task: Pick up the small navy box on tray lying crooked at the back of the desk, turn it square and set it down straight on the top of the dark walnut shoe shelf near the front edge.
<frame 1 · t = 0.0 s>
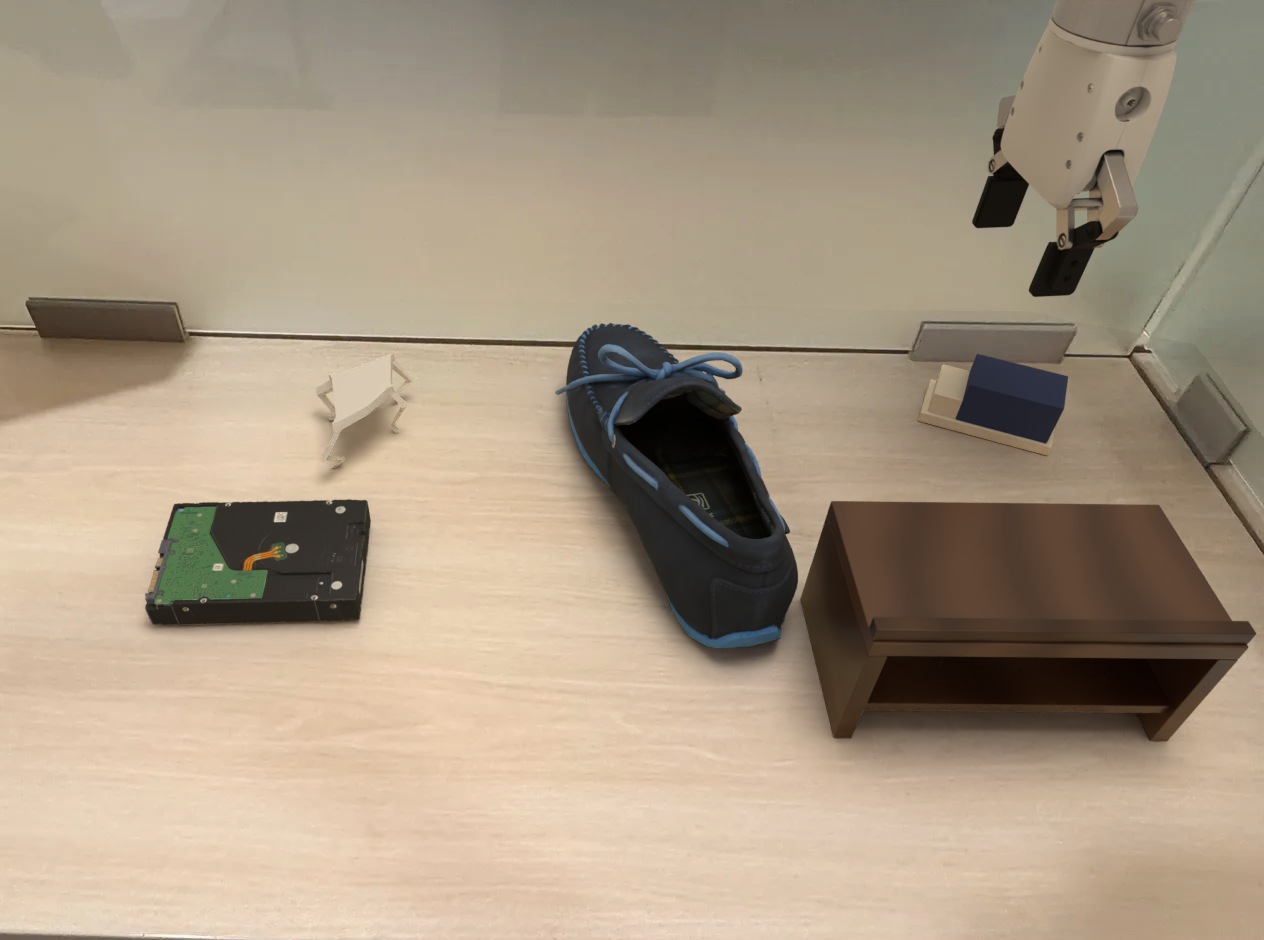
hand: (1019, 258, 73), 17 cm above the worktop, tool pointing down, fingers open, 9 cm apart
shoe shelf: (973, 665, 68), on the worktop
cream bent-legged table: (359, 437, 84), on the worktop
disk drive: (268, 574, 73), on the worktop
navy box on tray: (985, 420, 87), on the worktop
moccasin: (662, 498, 80), on the worktop
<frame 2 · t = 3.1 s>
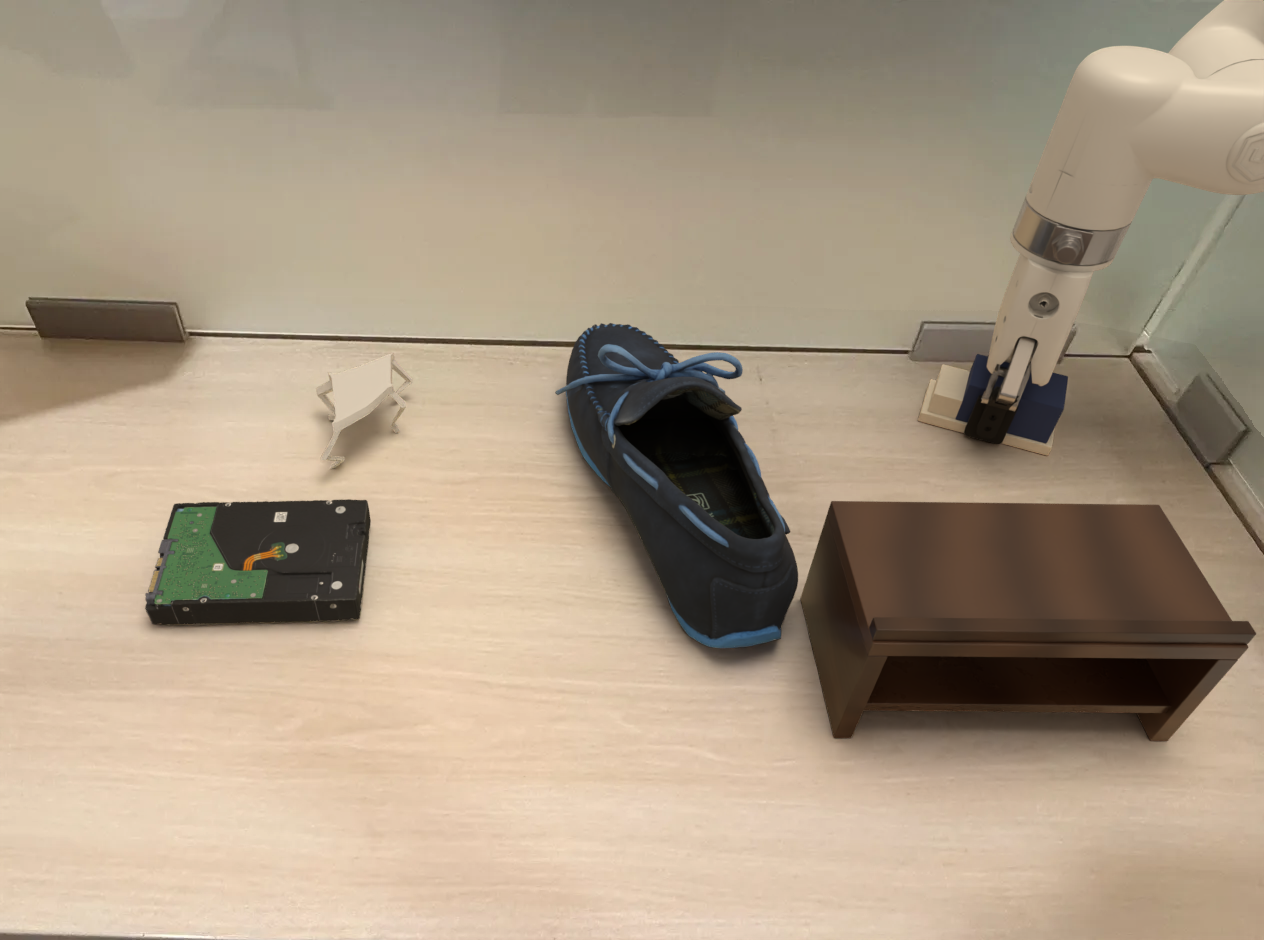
hand: (987, 415, 87), 1 cm above the worktop, tool pointing down, fingers closed on navy box on tray, 5 cm apart
navy box on tray: (985, 420, 87), on the worktop, touching gripper
everything else where it was.
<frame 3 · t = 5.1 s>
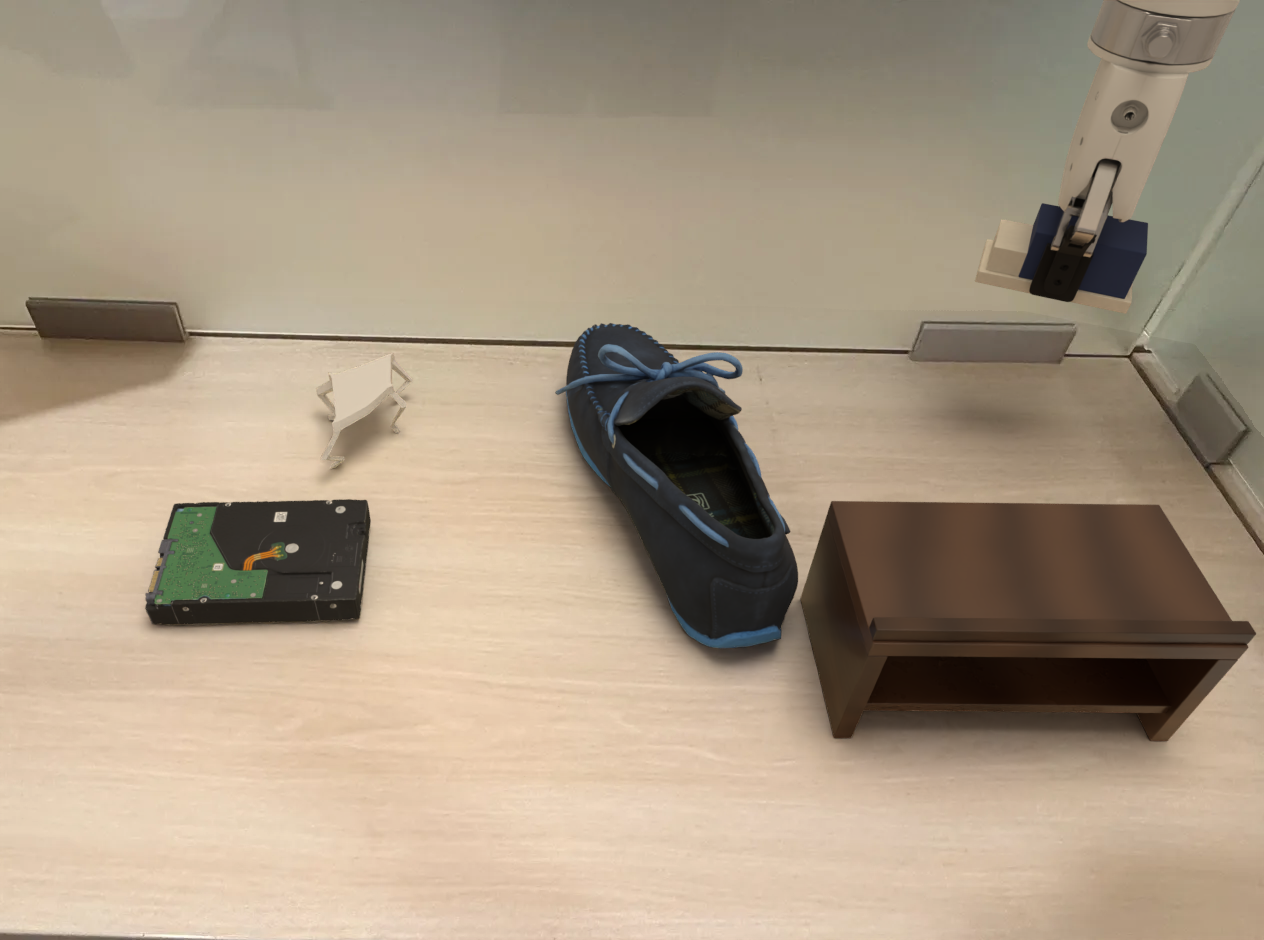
hand: (1054, 274, 76), 15 cm above the worktop, tool pointing down, fingers closed on navy box on tray, 5 cm apart
navy box on tray: (1051, 280, 77), point 14 cm above the worktop, touching gripper
everything else where it was.
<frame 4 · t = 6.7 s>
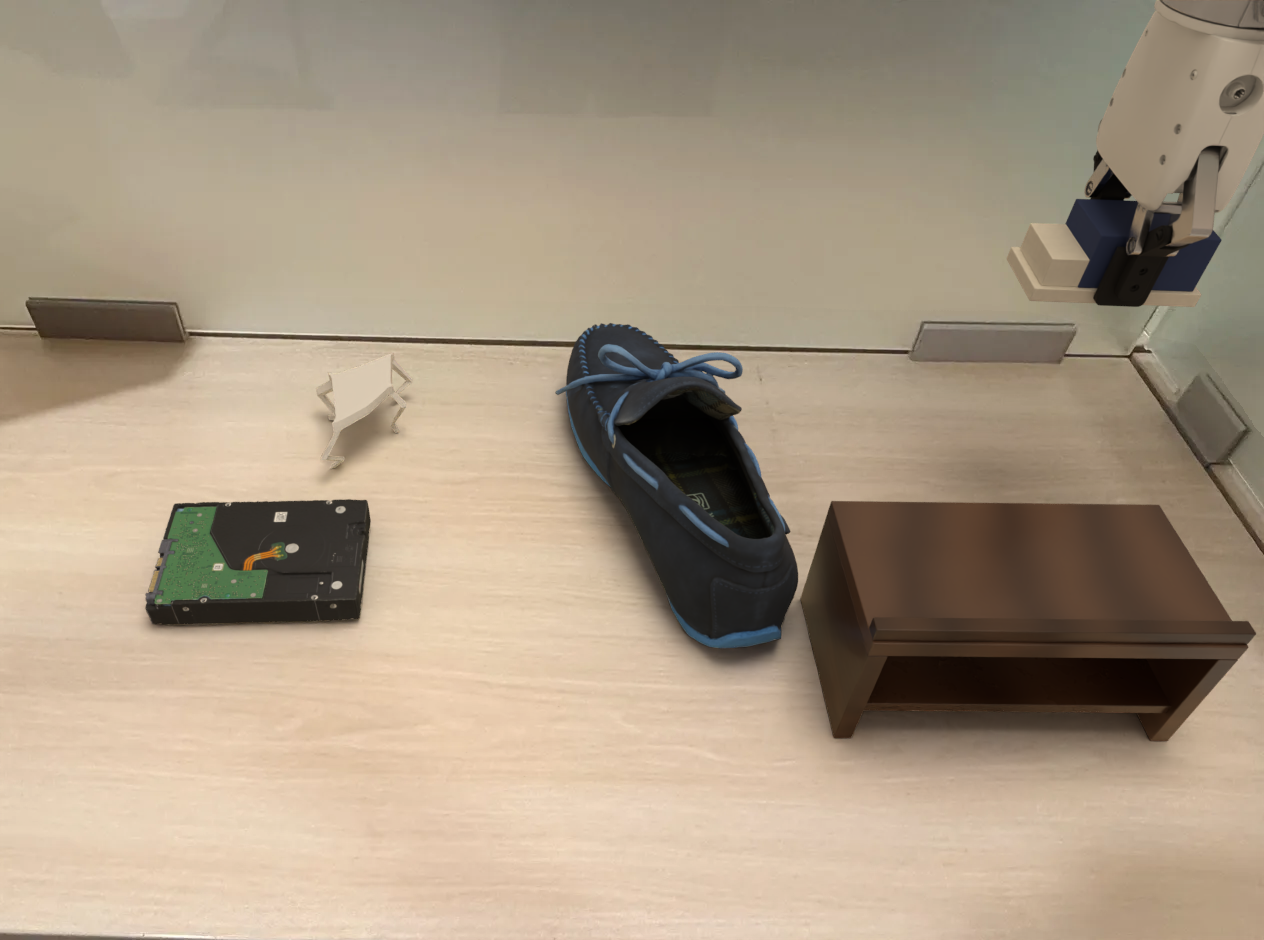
hand: (1101, 276, 67), 20 cm above the worktop, tool pointing down, fingers closed on navy box on tray, 5 cm apart
navy box on tray: (1097, 282, 67), point 19 cm above the worktop, touching gripper
everything else where it was.
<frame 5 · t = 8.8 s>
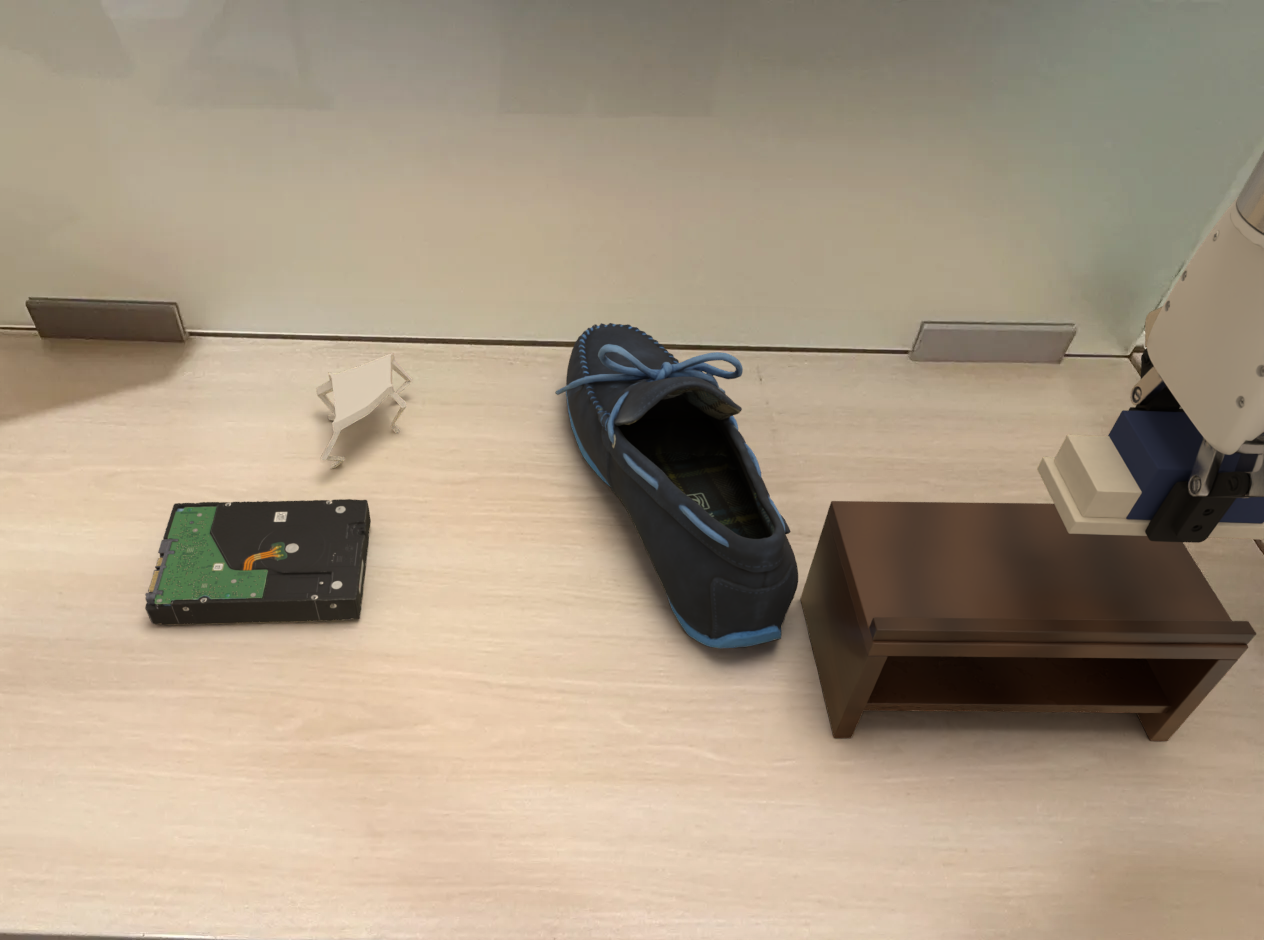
hand: (1151, 497, 56), 16 cm above the worktop, tool pointing down, fingers closed on navy box on tray, 5 cm apart
navy box on tray: (1146, 503, 57), point 16 cm above the worktop, touching gripper
everything else where it was.
when the fingers open (11 cm above the worktop, at t = 10.5 s): navy box on tray stays where it is, resting on shoe shelf.
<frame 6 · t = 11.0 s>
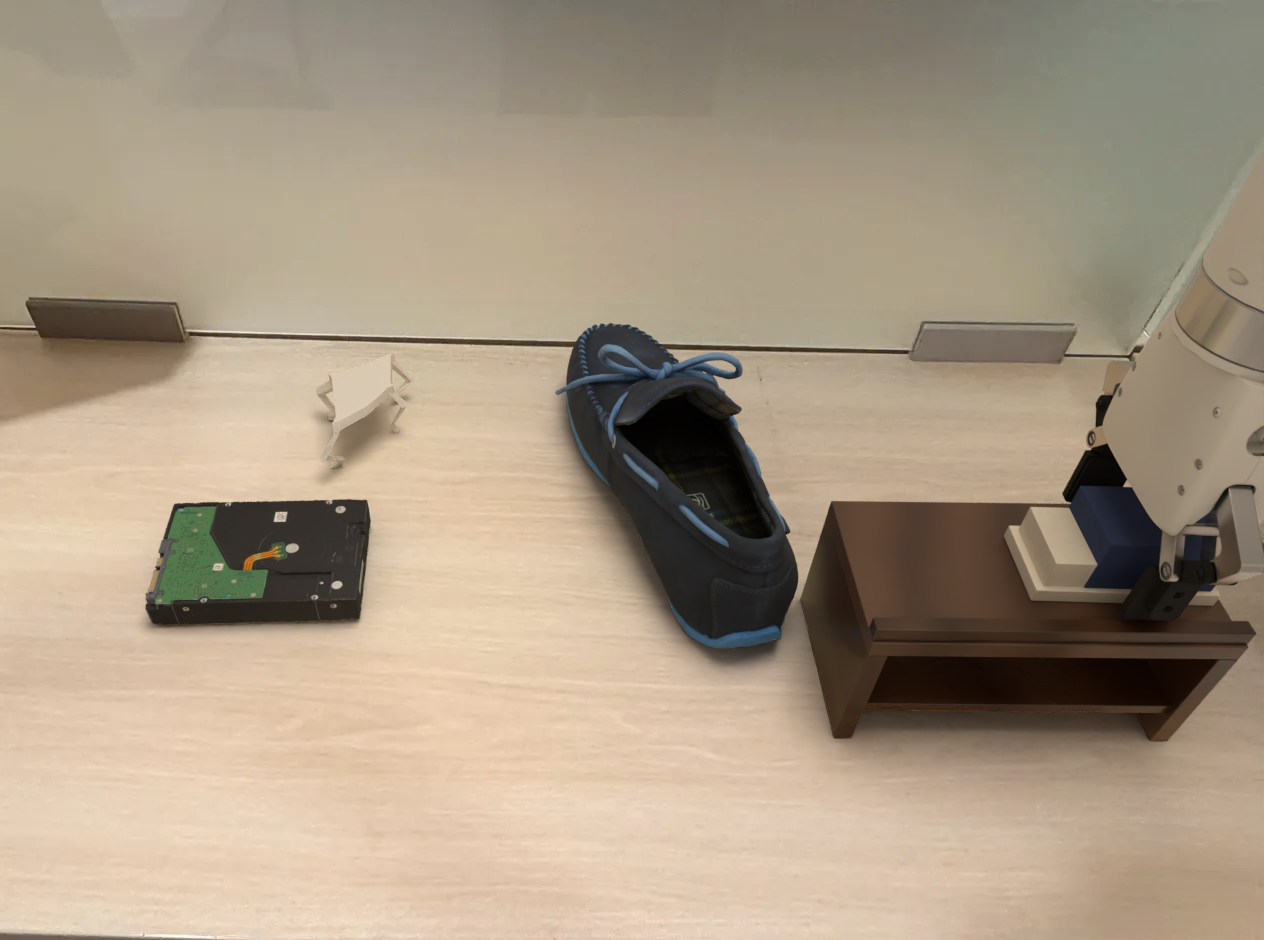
hand: (1114, 554, 60), 11 cm above the worktop, tool pointing down, fingers open, 9 cm apart
navy box on tray: (1104, 570, 61), point 10 cm above the worktop, touching shoe shelf
everything else where it was.
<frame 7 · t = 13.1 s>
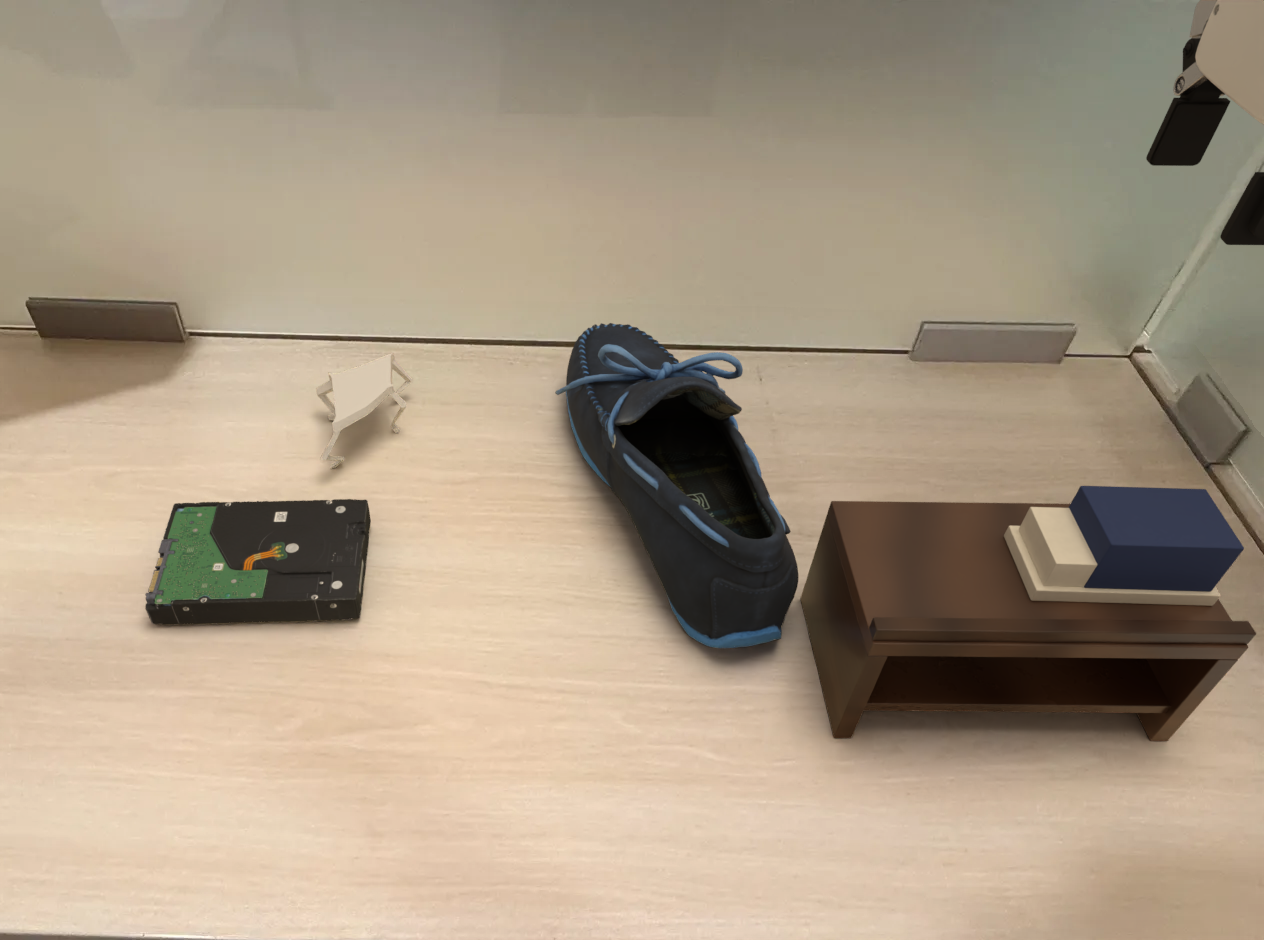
hand: (1207, 200, 58), 27 cm above the worktop, tool pointing down, fingers open, 9 cm apart
nothing on the worktop moved.
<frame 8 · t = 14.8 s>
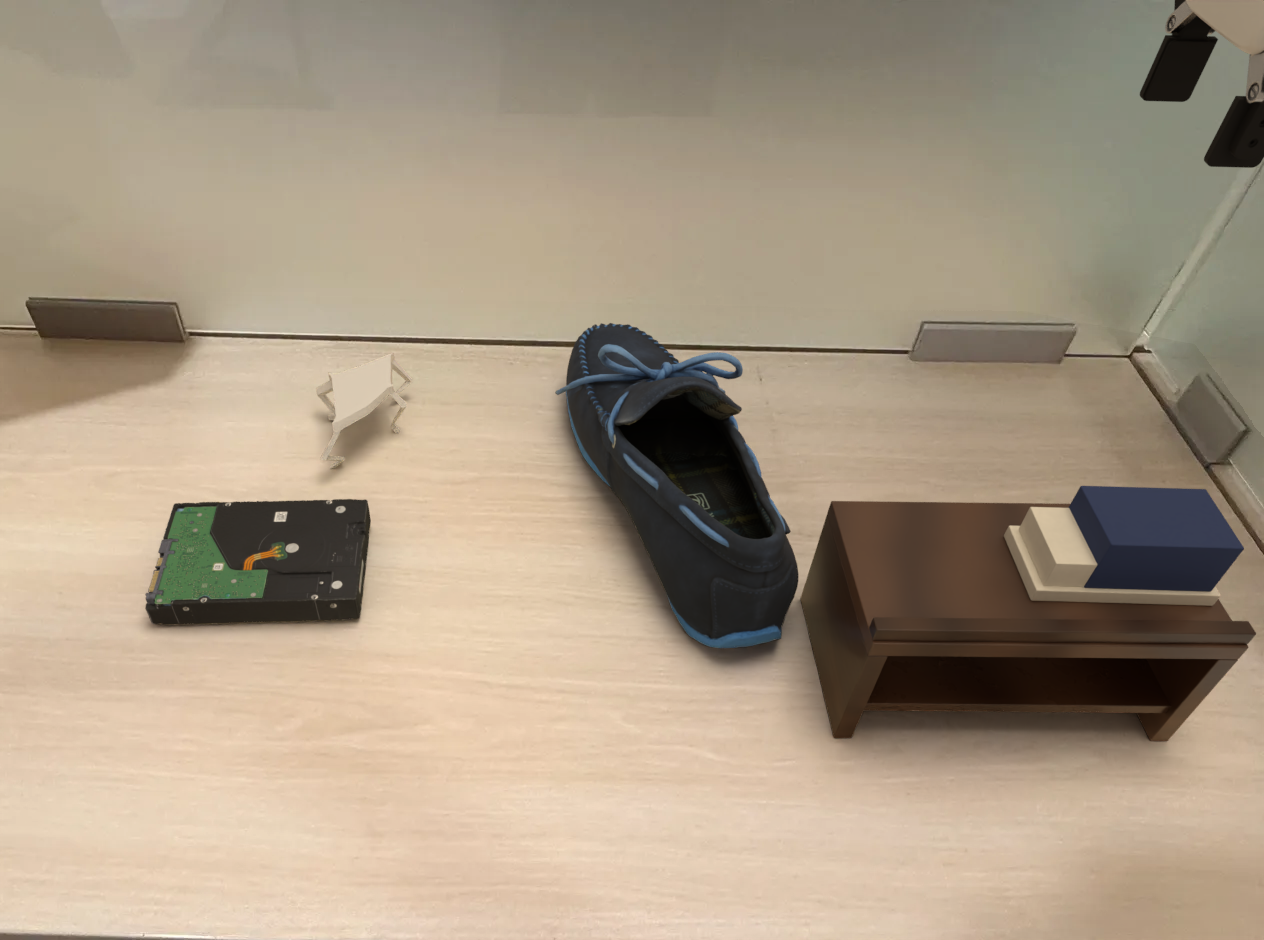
hand: (1194, 130, 63), 28 cm above the worktop, tool pointing down, fingers open, 9 cm apart
nothing on the worktop moved.
at the end: navy box on tray inside the target area on the shoe shelf (4.9 cm from its centre), point 10.0 cm above the shoe shelf's base; navy box on tray tilted 0°; the gripper is holding nothing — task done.
